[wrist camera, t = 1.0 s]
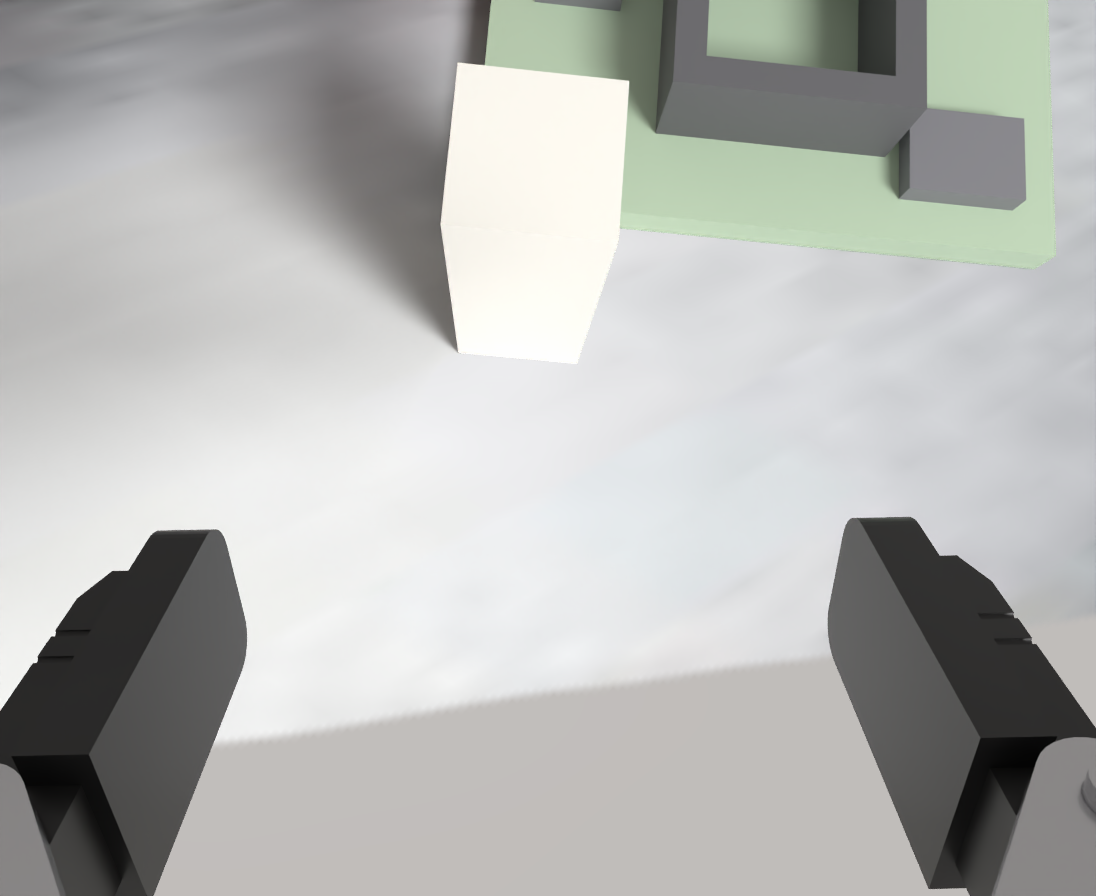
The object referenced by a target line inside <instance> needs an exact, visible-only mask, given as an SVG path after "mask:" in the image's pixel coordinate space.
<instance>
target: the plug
mask: <svg viewBox="0 0 1096 896" xmlns="http://www.w3.org/2000/svg"><path fill="white" fill-rule="evenodd" d="M628 94H629V81H626V80H616V79H607V78H598V77H588V76H579V75H570V74H560V73H551V72H542V71H532V70H523V69H514V68H504V67H495V66H486V65H476V64H467V63H458V65H457V74H456V84H455V93H454V103H453V112H452V121H451V131H450V140H449V149H448V159H447V168H446V177H445V187H444V196H443V205H442V215H441V231H442V238H443V246H444V253H445V260H446V267H447V274H448V282H449V289H450V296H451V303H452V310H453V318H454V325H455V332H456V339H457V347H458V353H465V354H476V355H487V356H498V357H509V358H520V359H531V360H542V361H552V362H563V363H574V364H577V363H578V360H579V357H580V354H581V351H582V348H583V345H584V342H585V339H586V336H587V333H588V330H589V327H590V324H591V321H592V319H593V316H594V313H595V310H596V307H597V304H598V301H599V298H600V295H601V292H602V289H603V286H604V283H605V280H606V277H607V274H608V272H609V269H610V266H611V263H612V260H613V257H614V254H615V251H616V248H617V245H618V242H619V229H620V214H621V199H622V184H623V169H624V154H625V139H626V124H627V109H628Z"/></svg>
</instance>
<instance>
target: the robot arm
mask: <svg viewBox="0 0 1096 896" xmlns="http://www.w3.org/2000/svg"><path fill="white" fill-rule="evenodd" d="M1013 613H1014V612H1013V611H1012V609H1011V608H1010V606H1009V605H1008V603H1007V602H1006V601H1005V599H1004V598H1003V596H1002V595H1001V594H1000V592H999V591H998V589H997V588H996V587H995V585H994V584H993V582H992V581H991V580H989V579H988V578H987V577H985V576H984V575H982V574H981V573H980V572H978V571H977V570H976V569H974V568H973V567H972V566H970V565H969V564H968V563H966V562H965V561H964V560H962V559H961V558H960V557H958V556H957V555H955V556H939V554H938V553H937V551H936V550H935V548H934V546H933V545H932V543H931V542H930V540H929V539H928V537H927V536H926V534H925V533H924V531H923V530H922V528H921V527H920V525H919V524H918V522H917V521H916V520H915V519H913V518H911V517H886V518H852V519H850V520H849V521H848V522H847V524H846V526H845V529H844V533H843V538H842V543H841V548H840V553H839V558H838V563H837V569H836V574H835V579H834V584H833V589H832V594H831V600H830V605H829V611H828V636H829V643H830V648H831V652H832V656H833V659H834V661H835V664H836V666H837V669H838V671H839V673H840V676H841V678H842V681H843V683H844V686H845V688H846V690H847V693H848V695H849V698H850V700H851V702H852V705H853V707H854V710H855V712H856V714H857V717H858V719H859V722H860V724H861V727H862V729H863V731H864V734H865V736H866V739H867V741H868V743H869V746H870V748H871V751H872V753H873V756H874V758H875V760H876V763H877V765H878V768H879V770H880V772H881V775H882V777H883V779H884V782H885V784H886V787H887V789H888V791H889V794H890V796H891V799H892V801H893V804H894V806H895V808H896V811H897V813H898V816H899V818H900V821H901V823H902V825H903V828H904V830H905V833H906V835H907V837H908V840H909V842H910V845H911V847H912V850H913V852H914V854H915V857H916V859H917V862H918V864H919V866H920V869H921V871H922V874H923V876H924V879H925V881H926V883H927V886H928V888H929V889H945V888H946V889H947V888H967V891H968V893H969V895H970V896H1096V728H1095V726H1094V725H1093V724H1092V722H1091V721H1090V719H1089V718H1088V716H1087V715H1086V714H1085V712H1084V711H1083V709H1082V708H1081V707H1080V705H1079V704H1078V703H1077V701H1076V700H1075V698H1074V697H1073V695H1072V694H1071V692H1070V691H1069V690H1068V688H1067V687H1066V685H1065V684H1064V683H1063V682H1062V680H1061V678H1060V677H1059V675H1058V674H1057V673H1056V671H1055V670H1054V669H1053V667H1052V666H1051V664H1050V663H1049V662H1048V660H1047V659H1046V657H1045V656H1044V654H1043V653H1042V651H1041V650H1040V649H1039V647H1038V646H1037V645H1036V644H1032V641H1031V639H1032V637H1031V636H1030V635H1029V633H1028V632H1027V630H1026V629H1025V627H1024V626H1023V625H1022V623H1021V622H1020V620H1019V619H1018V618H1014V615H1013ZM246 647H247V628H246V621H245V616H244V612H243V608H242V604H241V600H240V596H239V592H238V588H237V584H236V580H235V576H234V572H233V568H232V564H231V560H230V556H229V552H228V548H227V545H226V541H225V539H224V536H223V535H222V533H221V532H220V531H219V530H168V531H156V532H154V533H153V534H152V535H151V536H150V538H149V539H148V541H147V542H146V544H145V545H144V547H143V548H142V550H141V552H140V553H139V555H138V556H137V558H136V560H135V561H134V563H133V564H132V566H131V567H130V569H129V571H112V572H111V573H109V574H108V575H107V576H105V577H104V578H103V579H102V580H100V581H99V582H98V583H96V584H95V585H94V586H93V587H91V588H90V589H89V590H88V591H86V592H85V593H84V594H82V595H81V596H80V597H79V598H77V600H76V601H75V602H74V604H73V605H72V607H71V608H70V610H69V611H68V613H67V614H66V616H65V617H64V619H63V620H62V621H61V623H60V624H59V626H58V627H57V629H56V635H55V637H51V638H50V639H49V641H48V642H47V643H46V645H45V646H44V648H43V649H42V651H41V652H40V654H39V655H38V662H37V663H33V664H32V665H31V667H30V668H29V670H28V671H27V673H26V674H25V676H24V677H23V679H22V680H21V682H20V683H19V684H18V686H17V687H16V689H15V690H14V692H13V693H12V695H11V696H10V698H9V699H8V701H7V702H6V703H5V705H4V706H3V708H2V709H1V711H0V896H153V895H154V893H155V890H156V887H157V885H158V883H159V880H160V877H161V875H162V872H163V870H164V867H165V865H166V862H167V859H168V857H169V855H170V852H171V849H172V847H173V844H174V842H175V839H176V837H177V834H178V831H179V829H180V827H181V824H182V821H183V819H184V816H185V814H186V811H187V809H188V806H189V804H190V801H191V799H192V796H193V794H194V791H195V788H196V786H197V783H198V781H199V778H200V776H201V773H202V771H203V768H204V766H205V763H206V760H207V758H208V755H209V753H210V750H211V748H212V745H213V743H214V740H215V738H216V735H217V733H218V730H219V727H220V725H221V722H222V720H223V717H224V715H225V712H226V710H227V707H228V705H229V702H230V699H231V697H232V694H233V692H234V689H235V687H236V684H237V682H238V679H239V677H240V674H241V671H242V668H243V665H244V661H245V656H246Z"/></svg>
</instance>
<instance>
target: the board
mask: <svg viewBox="0 0 1096 896" xmlns="http://www.w3.org/2000/svg"><path fill="white" fill-rule="evenodd" d="M485 65H486V66H495V67H504V68H514V69H523V70H532V71H542V72H551V73H560V74H570V75H579V76H588V77H598V78H607V79H616V80H626V81H629V94H628V109H627V124H626V139H625V154H624V169H623V184H622V199H621V214H620V228H624V229H634V230H644V231H654V232H664V233H674V234H685V235H695V236H705V237H715V238H725V239H735V240H745V241H755V242H765V243H775V244H786V245H796V246H806V247H816V248H826V249H836V250H846V251H856V252H866V253H876V254H887V255H897V256H907V257H917V258H927V259H937V260H947V261H957V262H967V263H977V264H987V265H998V266H1008V267H1018V268H1028V269H1036V268H1037V267H1039V266H1041V265H1042V264H1044V263H1045V262H1047V261H1049V260H1050V259H1052V258H1053V257H1055V256H1056V241H1055V209H1054V178H1053V146H1052V115H1051V83H1050V51H1049V20H1048V0H491V7H490V17H489V27H488V37H487V47H486V57H485Z"/></svg>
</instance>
